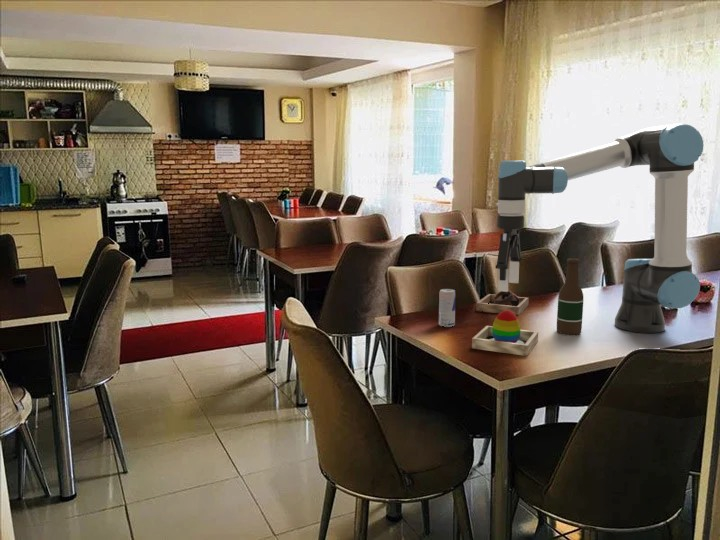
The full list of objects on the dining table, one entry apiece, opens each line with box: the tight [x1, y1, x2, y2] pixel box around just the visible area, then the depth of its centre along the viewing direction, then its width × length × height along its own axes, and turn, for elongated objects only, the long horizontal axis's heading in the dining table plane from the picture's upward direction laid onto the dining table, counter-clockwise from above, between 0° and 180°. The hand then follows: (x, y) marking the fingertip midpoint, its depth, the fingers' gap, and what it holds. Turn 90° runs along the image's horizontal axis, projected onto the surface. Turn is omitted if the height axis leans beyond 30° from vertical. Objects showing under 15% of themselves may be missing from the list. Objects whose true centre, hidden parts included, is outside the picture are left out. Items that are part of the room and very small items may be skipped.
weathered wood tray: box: [475, 293, 530, 316], centre depth 224 cm, size 16×18×3 cm
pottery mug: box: [493, 289, 520, 306], centre depth 223 cm, size 12×10×8 cm
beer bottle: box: [556, 257, 584, 336], centre depth 189 cm, size 8×8×24 cm
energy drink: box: [438, 288, 456, 328], centre depth 199 cm, size 5×5×12 cm
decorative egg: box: [492, 310, 521, 343], centre depth 177 cm, size 8×8×10 cm
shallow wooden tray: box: [471, 325, 539, 357], centre depth 177 cm, size 16×16×3 cm
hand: (508, 286), depth 175 cm, fingers open, 13 cm apart
